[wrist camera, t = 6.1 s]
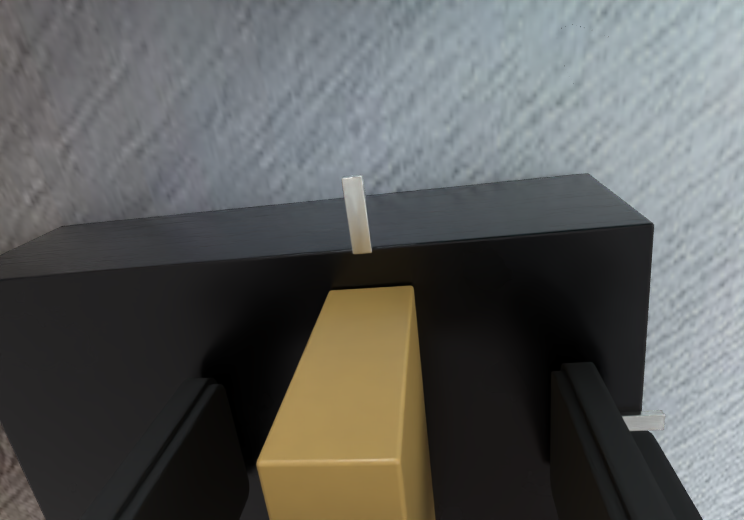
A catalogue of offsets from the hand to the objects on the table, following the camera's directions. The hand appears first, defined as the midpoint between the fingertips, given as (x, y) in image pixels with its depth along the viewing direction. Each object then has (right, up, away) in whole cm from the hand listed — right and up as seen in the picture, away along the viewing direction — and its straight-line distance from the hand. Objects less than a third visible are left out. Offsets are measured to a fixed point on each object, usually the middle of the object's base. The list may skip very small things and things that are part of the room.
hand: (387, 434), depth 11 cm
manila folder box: (0, 0, 0) cm, 0 cm away
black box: (-1, 0, +5) cm, 5 cm away
